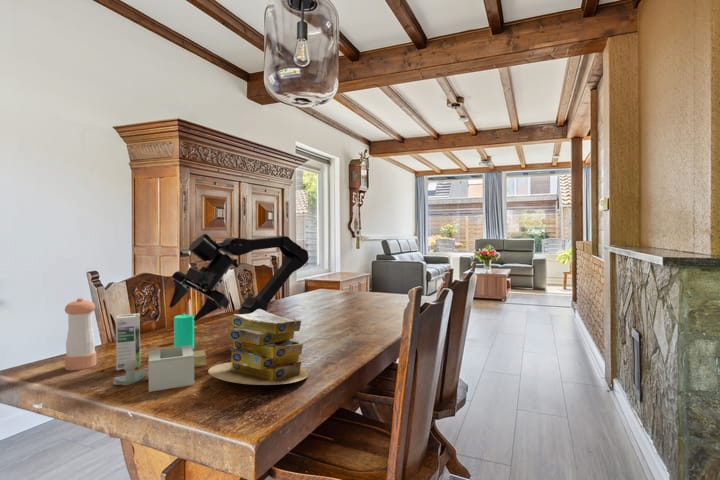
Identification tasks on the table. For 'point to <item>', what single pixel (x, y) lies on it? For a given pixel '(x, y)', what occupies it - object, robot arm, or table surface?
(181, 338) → the candle
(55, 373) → the table surface
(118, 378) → the pacifier
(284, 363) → the stacked boxes on plate
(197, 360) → the rectangular block
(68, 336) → the pepper shaker
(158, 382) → the coin box
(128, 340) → the syrup box
